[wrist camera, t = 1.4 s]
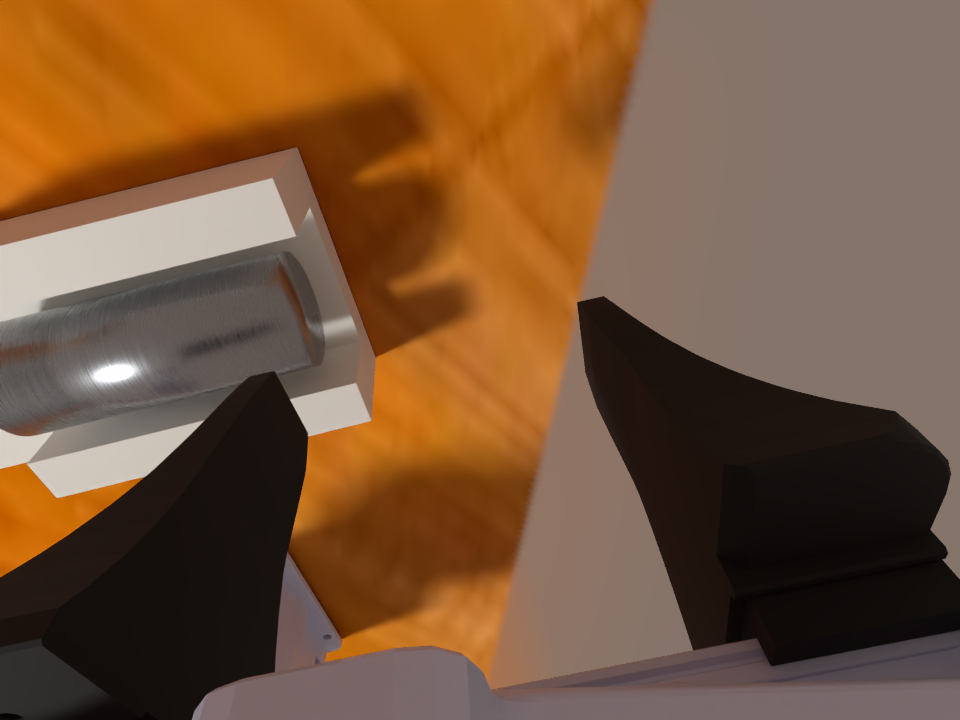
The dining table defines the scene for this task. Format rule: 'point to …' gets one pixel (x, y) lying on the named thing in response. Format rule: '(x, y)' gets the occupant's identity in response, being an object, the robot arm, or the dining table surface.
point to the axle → (157, 344)
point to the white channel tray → (168, 255)
